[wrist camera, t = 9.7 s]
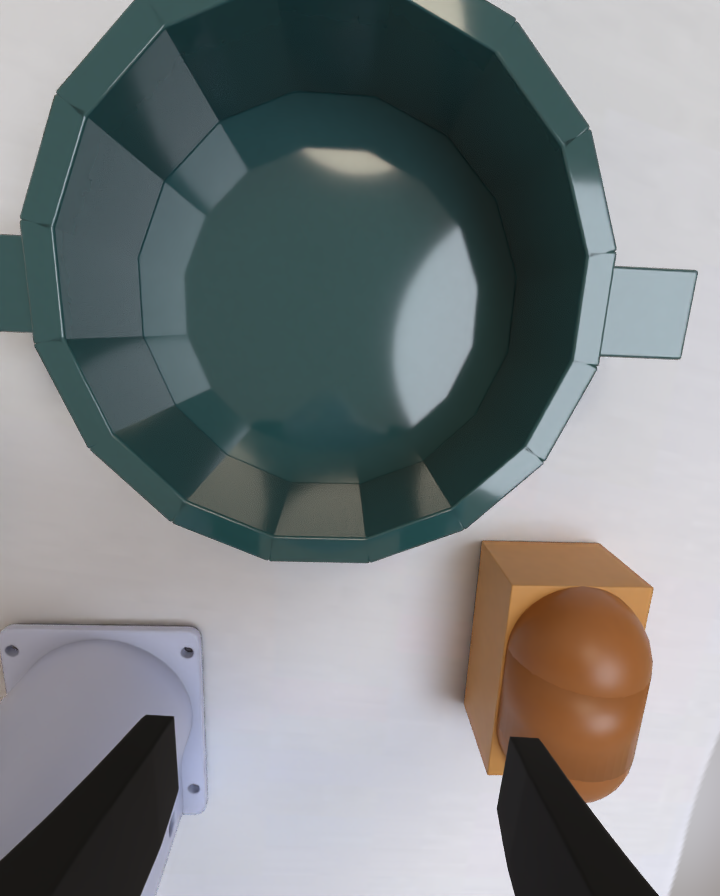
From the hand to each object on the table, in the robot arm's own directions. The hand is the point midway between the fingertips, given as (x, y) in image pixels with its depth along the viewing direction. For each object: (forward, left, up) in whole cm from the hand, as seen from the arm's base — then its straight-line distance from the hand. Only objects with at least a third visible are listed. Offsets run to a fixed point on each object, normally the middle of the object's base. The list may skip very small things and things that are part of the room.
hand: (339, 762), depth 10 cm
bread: (-3, -8, -10) cm, 13 cm away
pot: (+10, +1, -10) cm, 14 cm away
